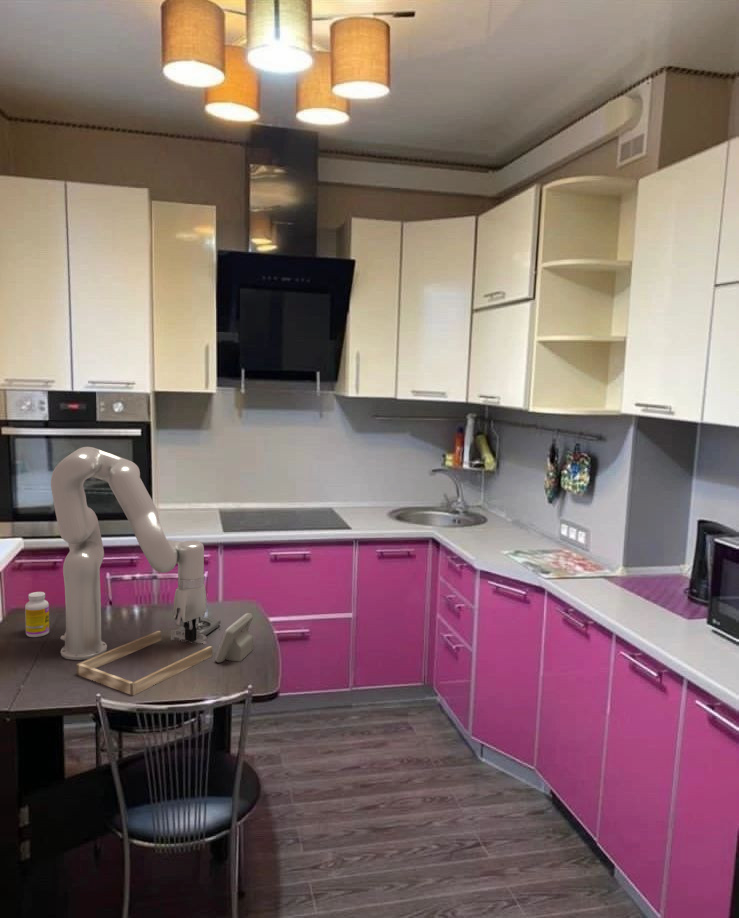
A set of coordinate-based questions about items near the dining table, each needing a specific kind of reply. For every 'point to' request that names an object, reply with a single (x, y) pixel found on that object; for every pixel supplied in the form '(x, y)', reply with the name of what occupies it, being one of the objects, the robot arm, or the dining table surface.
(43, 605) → the supplement bottle
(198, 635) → the graphics card
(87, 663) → the wooden u-shaped frame
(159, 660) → the dining table surface
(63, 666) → the dining table surface
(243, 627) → the digital clock
